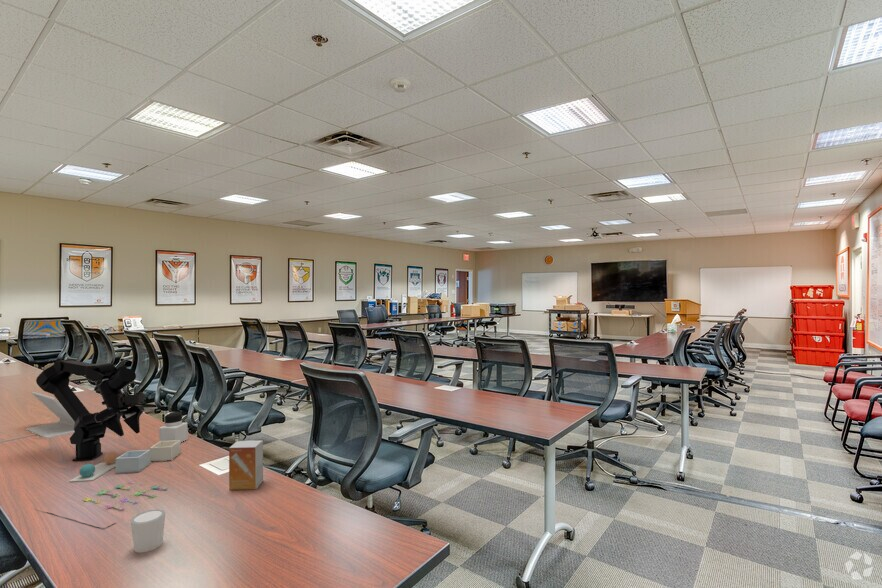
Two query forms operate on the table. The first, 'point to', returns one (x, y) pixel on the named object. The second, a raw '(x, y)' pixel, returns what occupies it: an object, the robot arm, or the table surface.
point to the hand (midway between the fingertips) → (130, 434)
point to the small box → (245, 465)
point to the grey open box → (133, 461)
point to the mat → (99, 471)
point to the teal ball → (87, 470)
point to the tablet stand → (55, 428)
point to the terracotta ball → (110, 457)
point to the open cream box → (165, 450)
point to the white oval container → (148, 530)
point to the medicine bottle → (173, 428)
